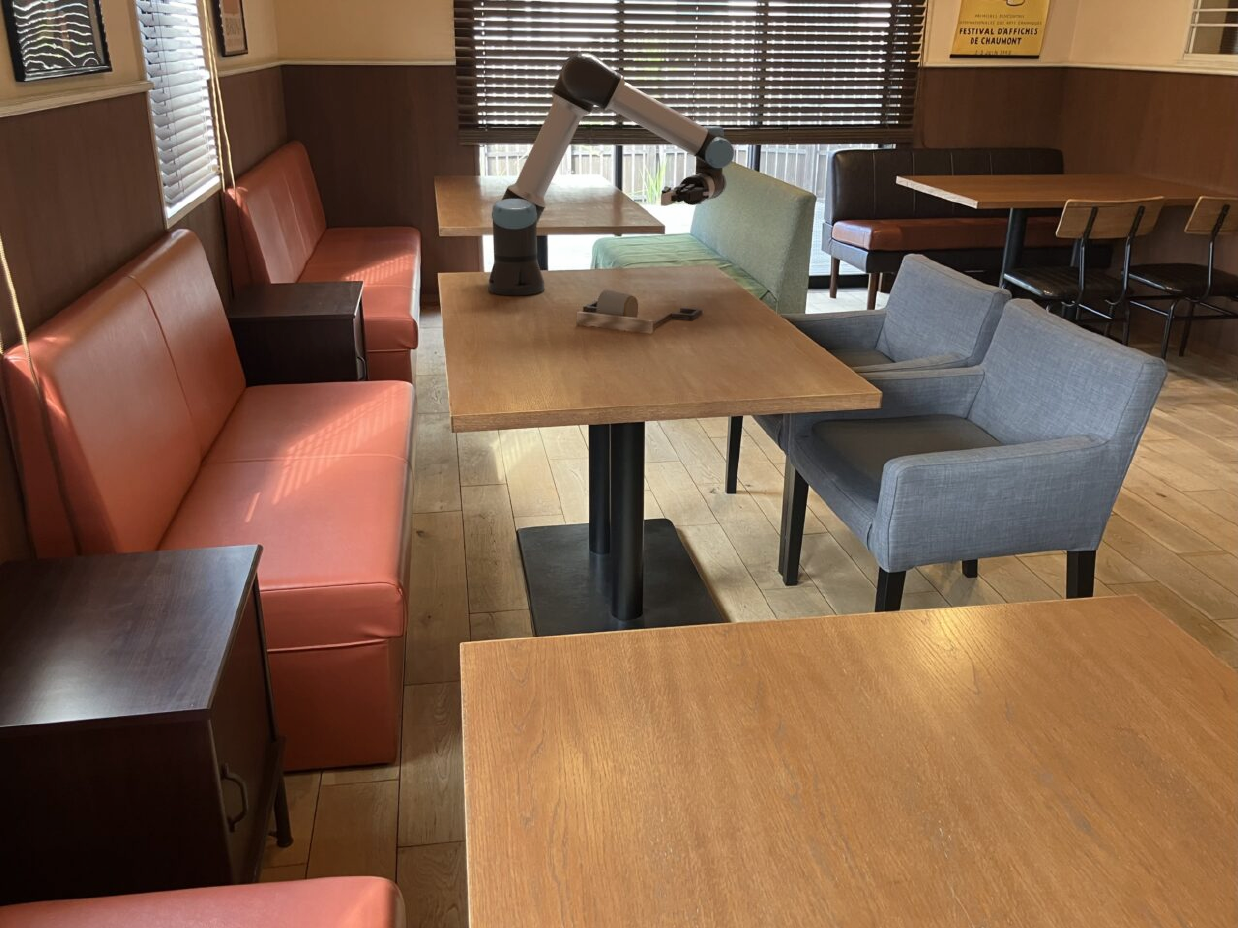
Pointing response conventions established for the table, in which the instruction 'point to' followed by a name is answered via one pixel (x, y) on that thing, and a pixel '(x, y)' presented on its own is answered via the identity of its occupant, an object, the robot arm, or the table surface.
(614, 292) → the ceramic mug
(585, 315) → the frame with square trays
